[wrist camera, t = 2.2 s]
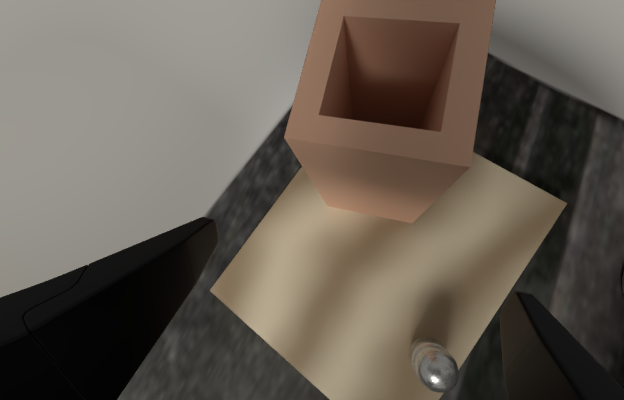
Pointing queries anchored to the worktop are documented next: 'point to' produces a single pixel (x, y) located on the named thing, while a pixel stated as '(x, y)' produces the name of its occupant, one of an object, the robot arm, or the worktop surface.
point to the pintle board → (386, 282)
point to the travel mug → (623, 282)
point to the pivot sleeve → (390, 101)
